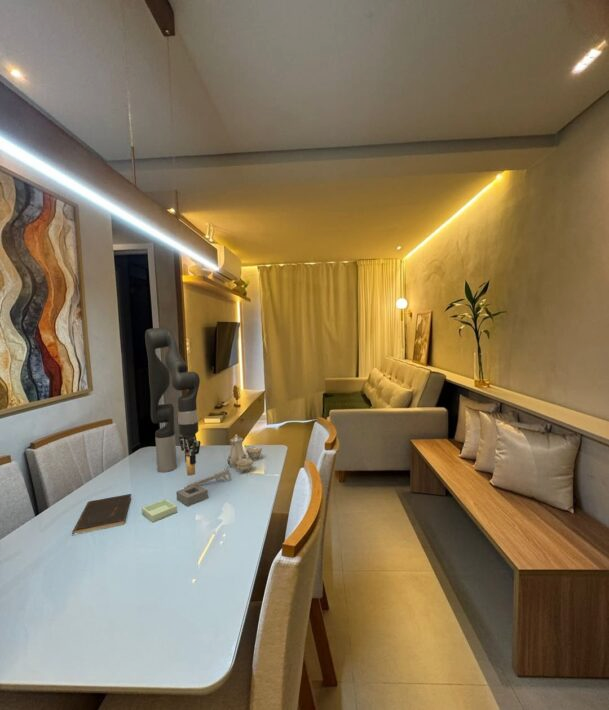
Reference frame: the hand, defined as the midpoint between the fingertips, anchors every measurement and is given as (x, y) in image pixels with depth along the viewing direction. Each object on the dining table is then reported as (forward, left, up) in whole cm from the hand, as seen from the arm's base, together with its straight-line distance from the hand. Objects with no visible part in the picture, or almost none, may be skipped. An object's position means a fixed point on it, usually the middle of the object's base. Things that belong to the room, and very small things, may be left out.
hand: (190, 462), depth 140 cm
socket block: (0, 0, -15) cm, 15 cm away
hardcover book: (-15, -28, -16) cm, 35 cm away
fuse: (0, 0, -5) cm, 5 cm away
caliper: (-8, +12, -16) cm, 21 cm away
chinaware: (-14, +36, -15) cm, 42 cm away
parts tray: (+1, -14, -15) cm, 21 cm away
